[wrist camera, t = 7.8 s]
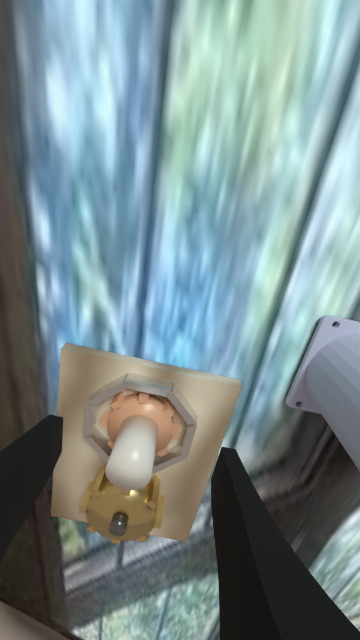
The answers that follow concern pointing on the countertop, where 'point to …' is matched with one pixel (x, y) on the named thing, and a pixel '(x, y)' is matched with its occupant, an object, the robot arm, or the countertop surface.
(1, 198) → the countertop surface
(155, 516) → the sun gear
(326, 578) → the countertop surface
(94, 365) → the carrier plate
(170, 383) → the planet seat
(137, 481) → the gear
